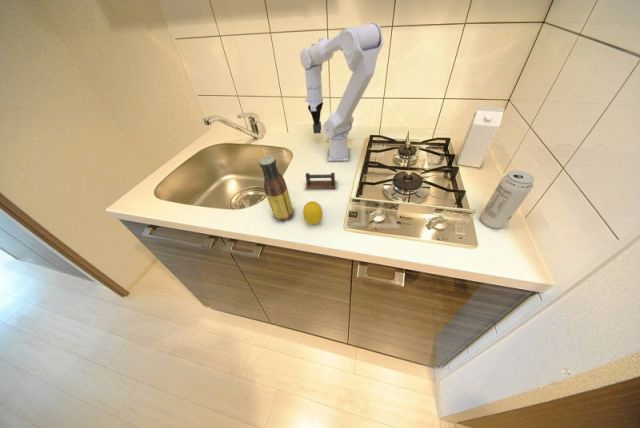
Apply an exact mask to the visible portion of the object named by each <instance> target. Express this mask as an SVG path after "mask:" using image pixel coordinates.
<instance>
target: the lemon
mask: <svg viewBox="0 0 640 428" xmlns="http://www.w3.org/2000/svg"><path fill="white" fill-rule="evenodd" d="M323 212H324V211H323V208H322V205H321V204H320V203H319V202H317V201H313V200H311V201H308V202H306V203H305V205H304V206H303V209H302V215H303V218H304V220H305V222H306V223H308V224H311V225H316V224H318V223H320V222H321V220H322V219H323V215H324V214H323Z"/></svg>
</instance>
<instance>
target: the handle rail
mask: <svg viewBox="0 0 640 428" xmlns="http://www.w3.org/2000/svg"><path fill="white" fill-rule="evenodd" d="M335 173H336V172H331V173H330V174H328V173H327V174H325V173H324V174H310V173H309V172H305V181H306V188H305V189H306V190H336V177H335V175H336V174H335ZM311 179H330V180H311Z"/></svg>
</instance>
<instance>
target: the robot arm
mask: <svg viewBox="0 0 640 428" xmlns="http://www.w3.org/2000/svg"><path fill="white" fill-rule="evenodd" d="M317 41H318V42H316V43H311V44H310V47H308V48H302V50H301V51H300V55H299V57H300V59H299V60H300V63H301V66H302V67H303V69H304V74H305V84H306V85H305V86H306V95H307V98H305V99H304V102H305V103H308V104H307V110H308V111H309V113H310V115H311V117H312V121H313V123H319V121H320V122H321V114H322V113H321V112H322V109H323V106H324V102H323V101H324V98H323V86H322V83H323V82H322V71H323V64H324V63H326V62H328V61H330V60H331V59H332V58H333V56H334V54H335V53H336V52H338V51H341V52H342V53H343V56H344V59H345V61H346V64H347V67H348V69H349V71H351V72H352V73H351V76H350V78H349V81H348V83H347V85H346V87H345V89H344V92H343V94H342V96H341V99H340V101H339V103H338V105H337V108H336V110H335V112H333V113H332V114H331V115H330V116H329V117H328V118H327V120H325V121H324V122H323V125H322V126H323V127H322V128H323V133H324V135H325V136H326V137H327V138H328V149H329V151H328V157H327V160H328V162H347V161H349V148H348V135H350V132H351V130H352V128H353V123H354V121H355V118H354V117H353V113H354V112H355V110H356V108H357V106H358V105H359V103H360V101H361V99H362V97H363V95H364V93H365V91H366V89H367V88H368V86H369V85H370V82H371V80H372V79H373V77H374V74H375V70H376V65H377V60H378V56H379V54H380V52H381V50H382V48H383V46H384V38H383V32H382V27H381V26H380V25H379V24H378V23H377V22H371V23H367V24H363V25H357V26H347V27H346V28H344V29H341V30H340V31H339V32H338V33H337V34H335V35H334V36H333V37H331V38H330V39H328V38H324V37H319V38H318V39H317Z"/></svg>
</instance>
